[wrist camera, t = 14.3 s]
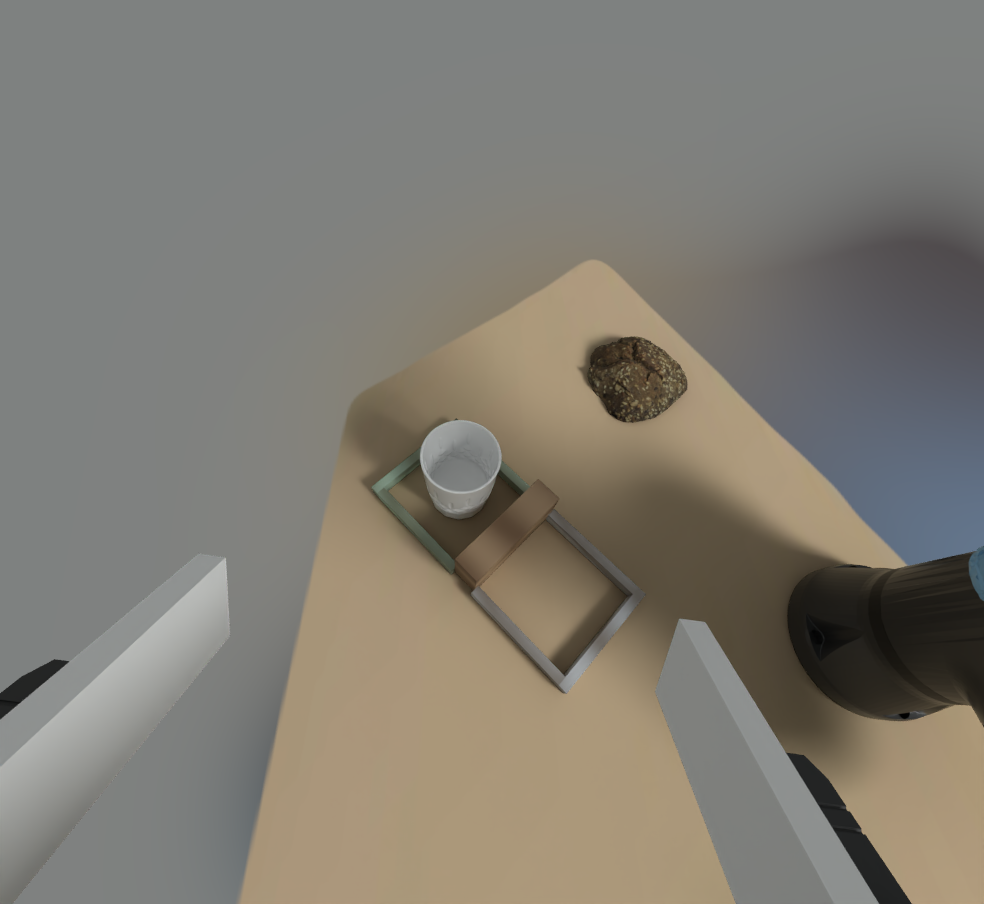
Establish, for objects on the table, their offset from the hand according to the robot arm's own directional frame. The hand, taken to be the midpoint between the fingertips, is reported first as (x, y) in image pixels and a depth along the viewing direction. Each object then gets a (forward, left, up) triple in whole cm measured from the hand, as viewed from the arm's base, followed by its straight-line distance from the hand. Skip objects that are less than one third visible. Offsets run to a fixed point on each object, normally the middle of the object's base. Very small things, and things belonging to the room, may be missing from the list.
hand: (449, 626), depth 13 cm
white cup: (-13, -12, -36) cm, 40 cm away
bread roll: (-41, -8, -36) cm, 55 cm away
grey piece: (-12, -5, -36) cm, 38 cm away
